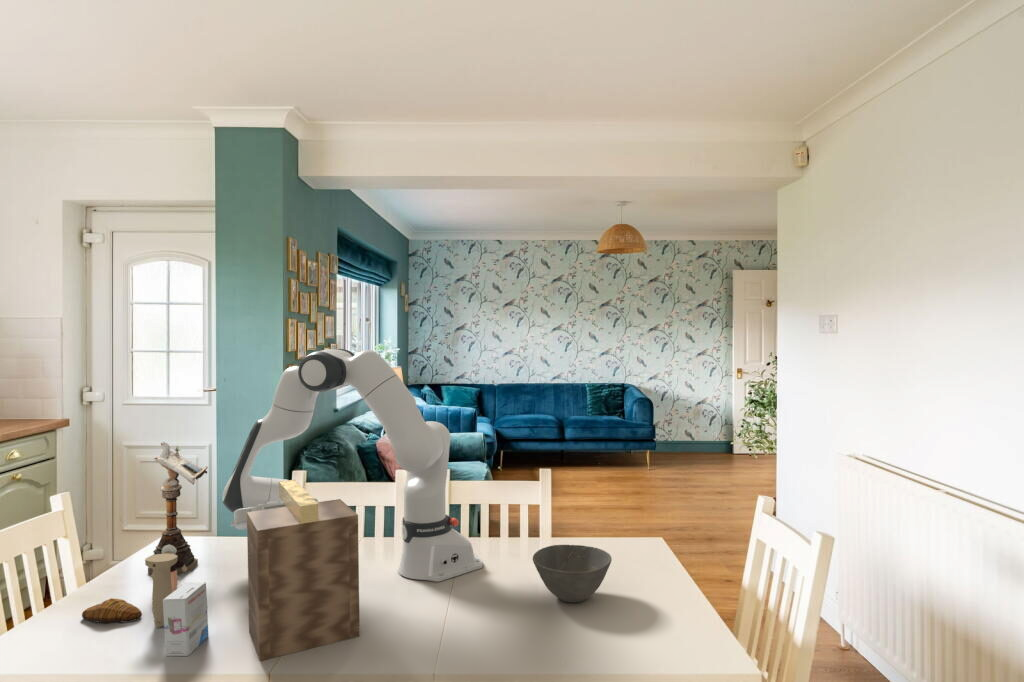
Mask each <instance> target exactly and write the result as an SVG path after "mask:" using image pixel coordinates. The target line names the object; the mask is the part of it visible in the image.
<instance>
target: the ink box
mask: <svg viewBox="0 0 1024 682" xmlns="http://www.w3.org/2000/svg"><path fill="white" fill-rule="evenodd" d="M207 592H208V591H207V582H206V581H205V582H204V581H203V582H200V581H199V582H185V583H183V584H181V585H180V586H179V587H177V589H176V590H175V591H174V592H173V593H171V594H170V595H169V596H167V597H166V598H165V599H163V614H164V627H163V628H164V630H163V631H164V649H165V652H164V653H165V656H166V657H187V656H190V655H191V654H192V653H193V652H194V651H195V650H196V649H197V648H198V647H199V646H200V645H201V644H202V643H203V642H204V641H205V640H206V639H207V638H208V637H209V619H208V617H209V616H208V599H207V598H208V596H207V595H208V594H207Z"/></svg>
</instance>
